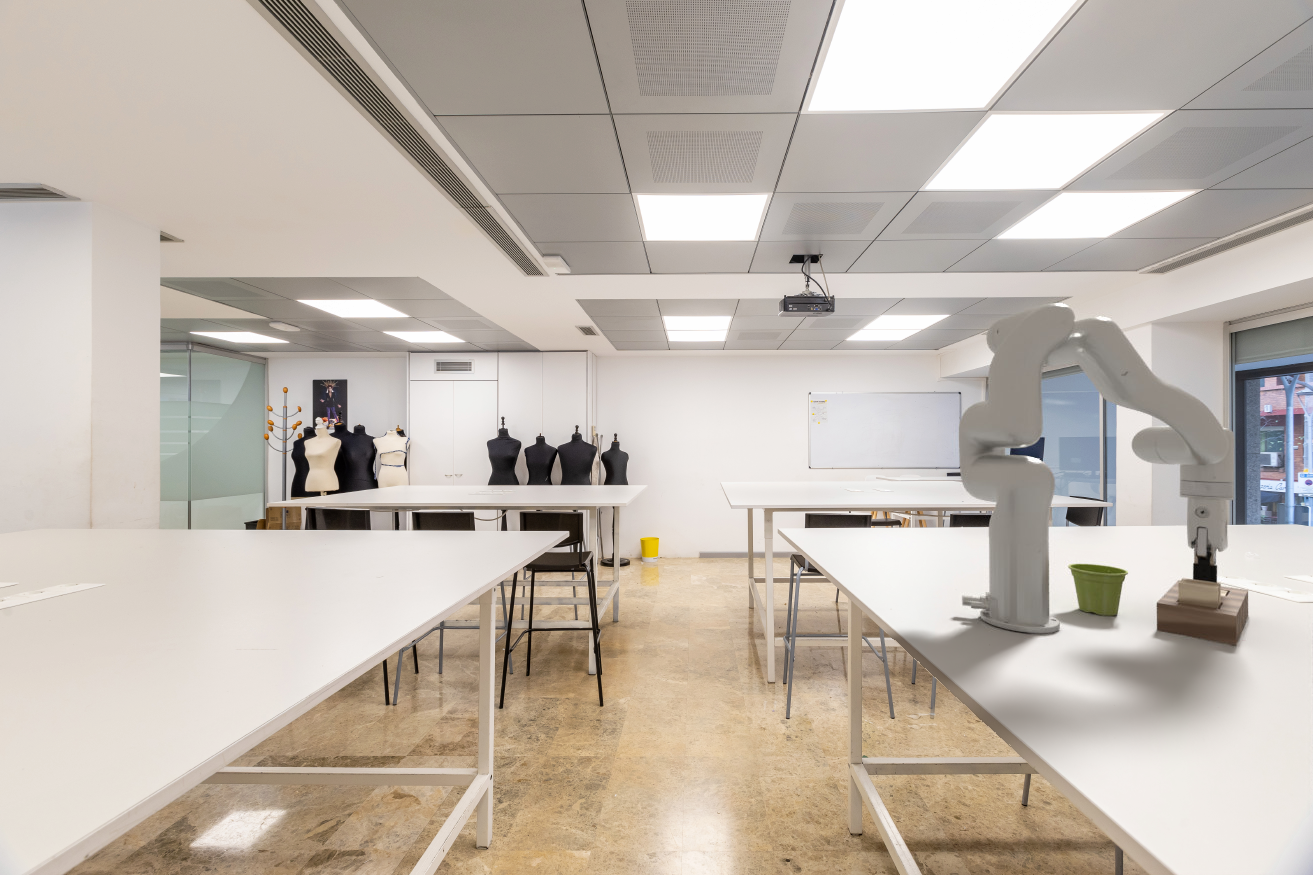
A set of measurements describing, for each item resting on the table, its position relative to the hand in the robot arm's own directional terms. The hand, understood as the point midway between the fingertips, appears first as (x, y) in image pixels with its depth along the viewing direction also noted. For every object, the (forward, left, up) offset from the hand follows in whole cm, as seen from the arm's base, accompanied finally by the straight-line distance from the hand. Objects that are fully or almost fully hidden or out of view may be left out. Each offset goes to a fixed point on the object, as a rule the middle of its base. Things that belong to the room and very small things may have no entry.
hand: (1204, 584), depth 109 cm
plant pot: (-18, -4, -6) cm, 20 cm away
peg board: (-2, -5, -6) cm, 8 cm away
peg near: (-5, -10, -3) cm, 12 cm away
